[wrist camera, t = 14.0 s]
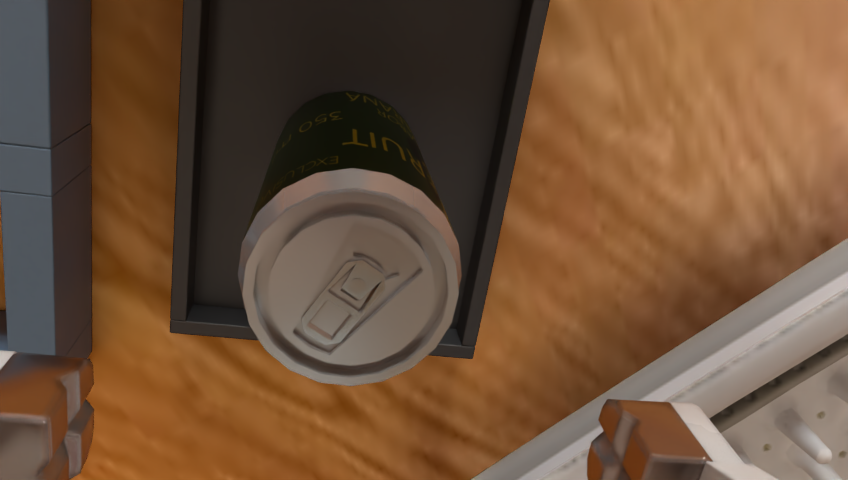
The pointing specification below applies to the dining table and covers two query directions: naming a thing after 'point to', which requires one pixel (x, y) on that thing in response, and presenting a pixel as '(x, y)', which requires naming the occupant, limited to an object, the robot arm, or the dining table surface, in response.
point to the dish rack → (738, 385)
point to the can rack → (46, 176)
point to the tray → (333, 72)
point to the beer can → (349, 246)
